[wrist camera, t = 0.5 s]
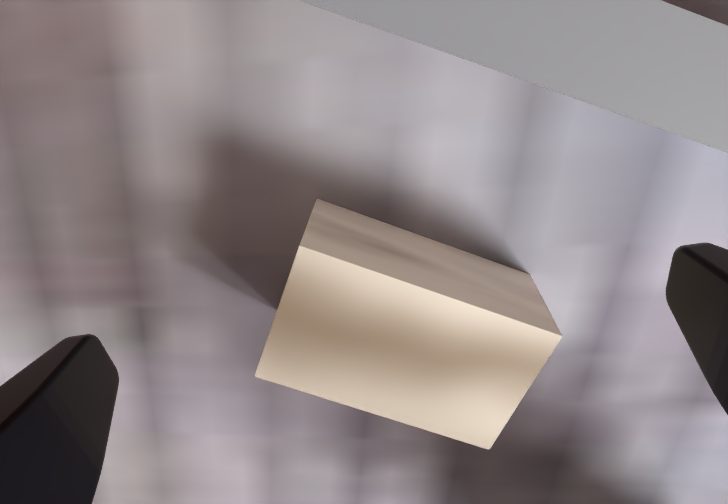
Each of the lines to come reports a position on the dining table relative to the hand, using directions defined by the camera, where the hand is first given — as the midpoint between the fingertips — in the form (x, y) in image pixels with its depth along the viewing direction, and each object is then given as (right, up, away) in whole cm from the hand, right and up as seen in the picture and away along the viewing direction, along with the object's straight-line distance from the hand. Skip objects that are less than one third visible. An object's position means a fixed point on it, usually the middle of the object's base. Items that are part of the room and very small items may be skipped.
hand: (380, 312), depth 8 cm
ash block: (+1, -1, +16) cm, 16 cm away
